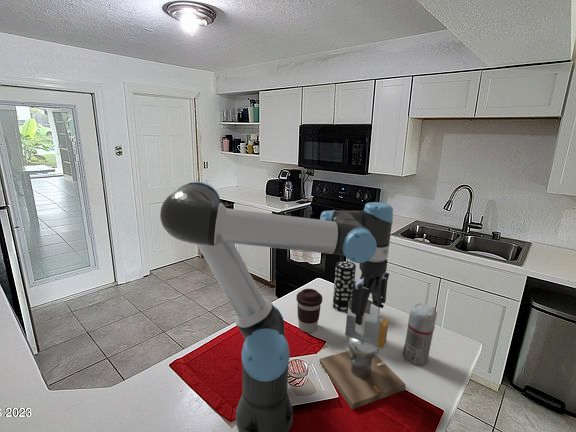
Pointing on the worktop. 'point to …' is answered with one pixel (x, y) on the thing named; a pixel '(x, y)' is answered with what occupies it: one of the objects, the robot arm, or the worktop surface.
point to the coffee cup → (308, 309)
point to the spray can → (419, 334)
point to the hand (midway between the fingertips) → (366, 328)
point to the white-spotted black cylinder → (343, 285)
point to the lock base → (361, 378)
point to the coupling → (366, 335)
